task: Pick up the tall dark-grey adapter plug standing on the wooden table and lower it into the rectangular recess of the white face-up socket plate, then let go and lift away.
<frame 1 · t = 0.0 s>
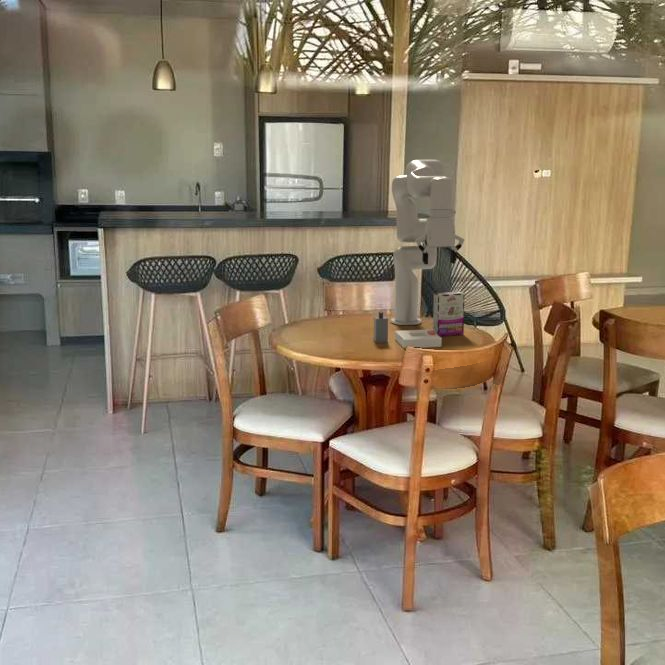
hand: (439, 263, 267), 31 cm above the table, tool pointing down, fingers open, 9 cm apart
plug: (380, 341, 288), on the table
candy bar box: (447, 334, 297), on the table
socket plate: (417, 342, 285), on the table
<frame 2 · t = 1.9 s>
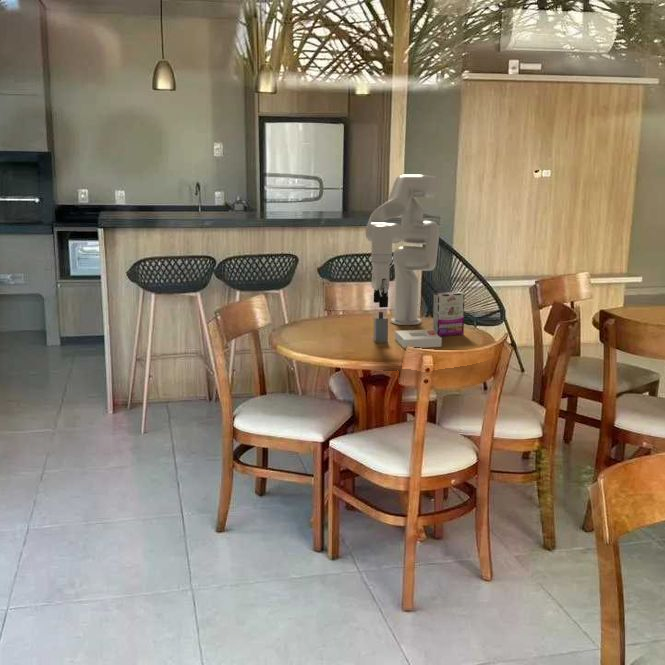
hand: (380, 304, 284), 14 cm above the table, tool pointing down, fingers open, 9 cm apart
nothing on the table moved.
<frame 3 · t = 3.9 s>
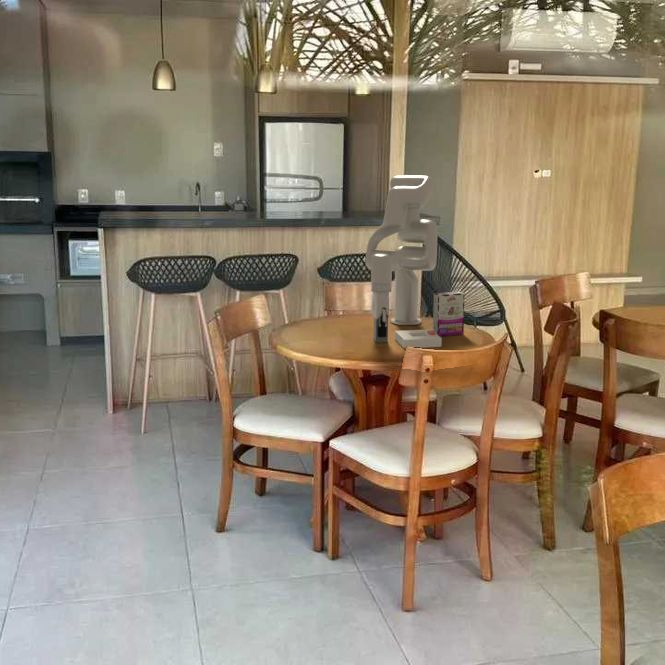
hand: (380, 334, 287), 2 cm above the table, tool pointing down, fingers closed on plug, 4 cm apart
plug: (380, 340, 288), on the table, touching gripper
everything else where it was.
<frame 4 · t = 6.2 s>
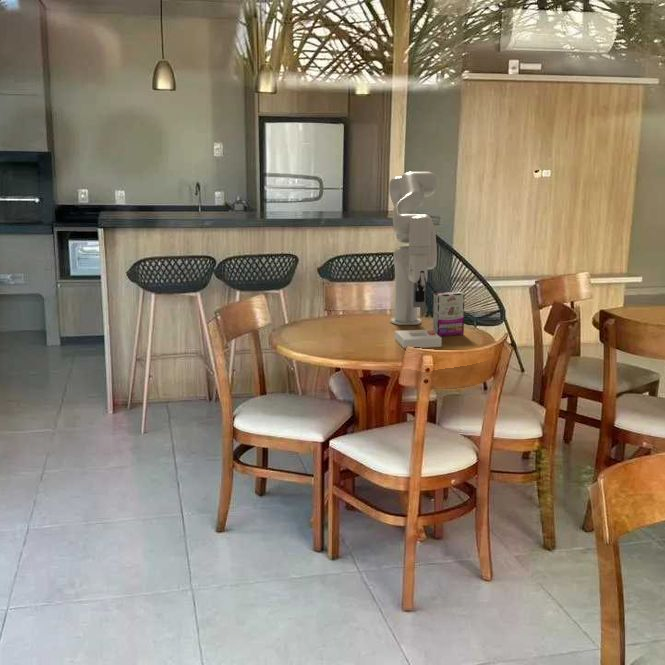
hand: (418, 300, 281), 16 cm above the table, tool pointing down, fingers closed on plug, 4 cm apart
plug: (417, 306, 281), point 14 cm above the table, touching gripper
everything else where it was.
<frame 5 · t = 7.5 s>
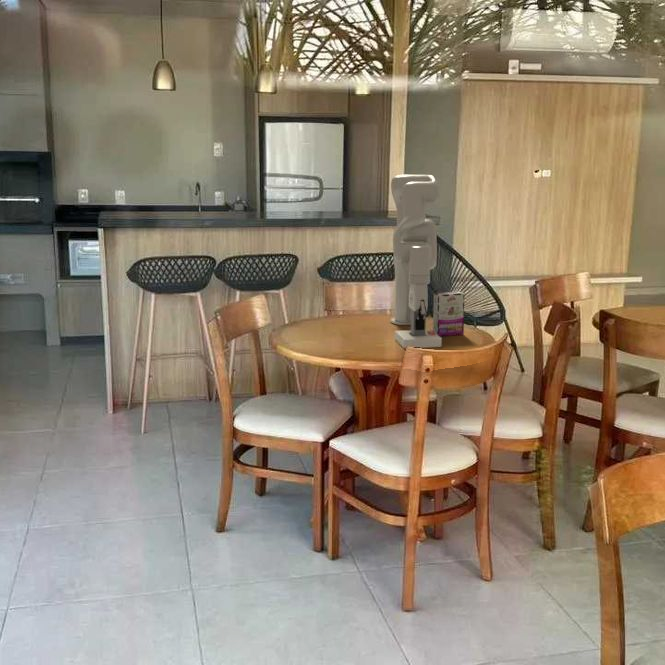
hand: (418, 327, 283), 6 cm above the table, tool pointing down, fingers closed on plug, 4 cm apart
plug: (417, 333, 284), point 3 cm above the table, touching gripper
everything else where it was.
when the fingers open (4 cm above the table, at t = 8.5 s): plug stays where it is, resting on socket plate.
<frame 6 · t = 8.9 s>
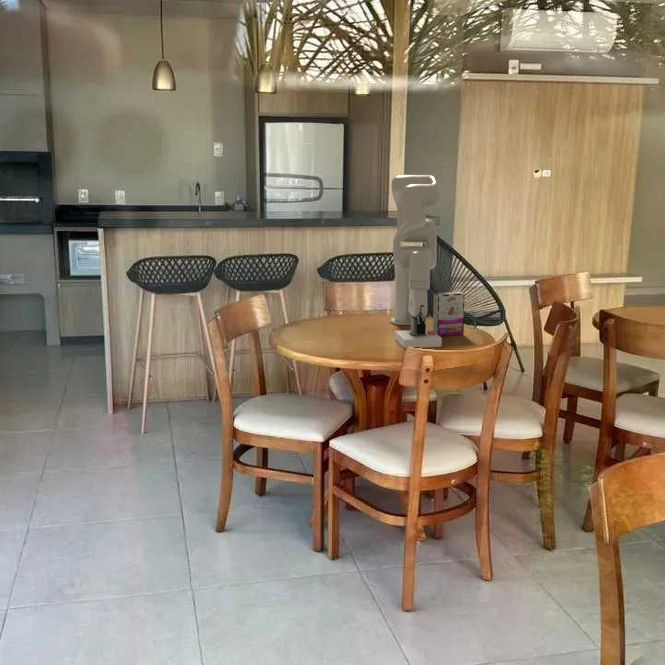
hand: (418, 331, 284), 4 cm above the table, tool pointing down, fingers open, 7 cm apart
plug: (417, 341, 285), point 1 cm above the table, touching socket plate
everything else where it was.
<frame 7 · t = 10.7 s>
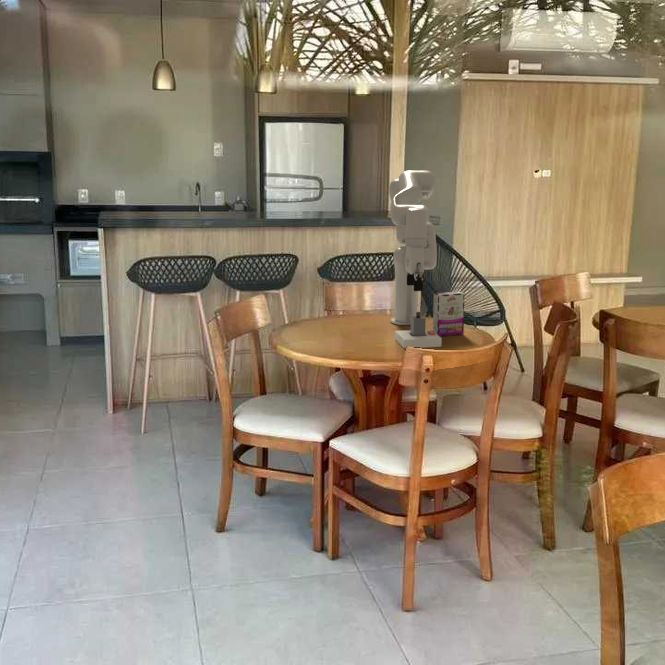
hand: (414, 288, 283), 20 cm above the table, tool pointing down, fingers open, 9 cm apart
nothing on the table moved.
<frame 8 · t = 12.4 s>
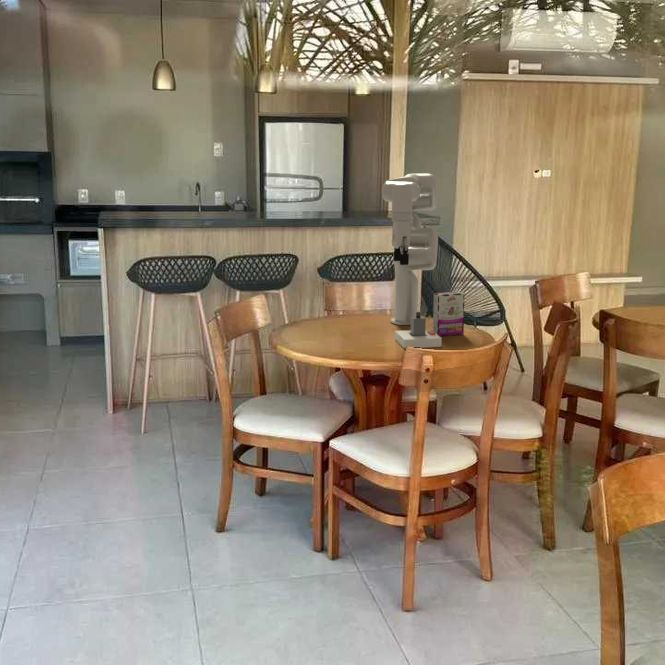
hand: (401, 262, 289), 28 cm above the table, tool pointing down, fingers open, 9 cm apart
nothing on the table moved.
at the end: plug 0.1 cm off-centre on the socket plate, point 0.6 cm above the socket plate's base; plug tilted 0°; the gripper is holding nothing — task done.
